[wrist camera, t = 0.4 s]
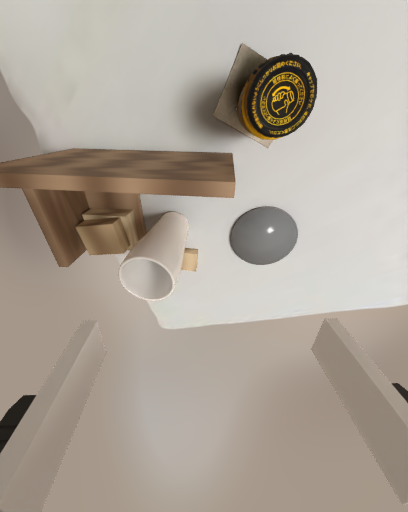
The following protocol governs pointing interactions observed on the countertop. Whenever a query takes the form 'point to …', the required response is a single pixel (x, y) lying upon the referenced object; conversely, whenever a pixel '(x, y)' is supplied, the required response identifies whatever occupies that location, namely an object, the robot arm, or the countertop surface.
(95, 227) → the offcut upper
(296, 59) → the condiment
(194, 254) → the offcut flat
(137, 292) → the drinking glass
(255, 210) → the coaster
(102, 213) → the offcut lower
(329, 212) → the countertop surface
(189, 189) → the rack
